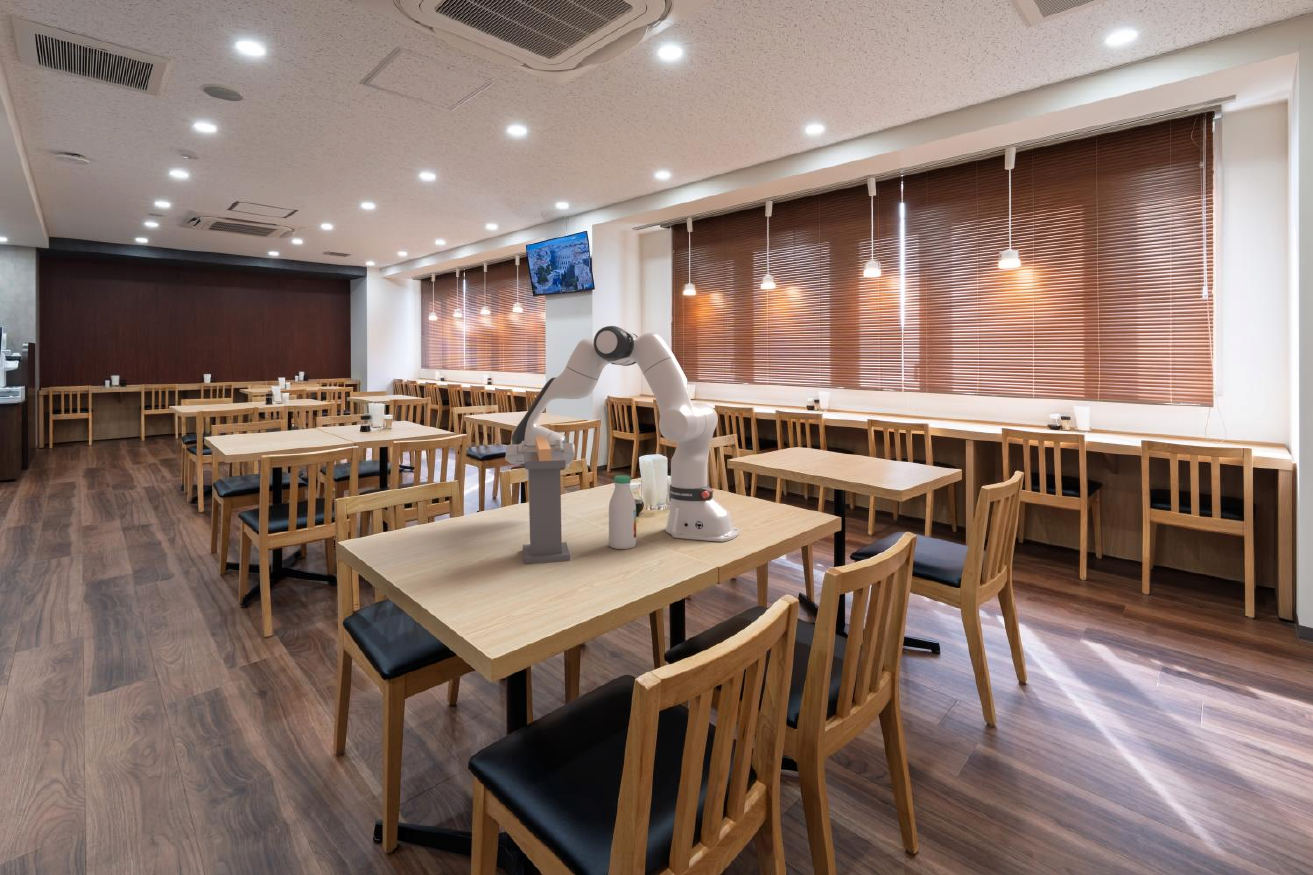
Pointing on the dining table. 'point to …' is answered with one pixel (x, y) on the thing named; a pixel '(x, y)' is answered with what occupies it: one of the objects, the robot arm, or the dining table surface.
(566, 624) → the dining table surface
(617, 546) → the milk bottle
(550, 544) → the stand
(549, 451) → the bar
